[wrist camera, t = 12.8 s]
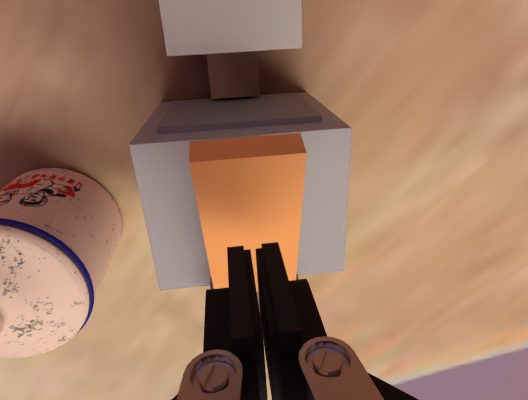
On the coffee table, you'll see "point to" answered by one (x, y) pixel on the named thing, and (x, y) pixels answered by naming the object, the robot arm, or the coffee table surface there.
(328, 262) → the cabinet
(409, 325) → the coffee table surface
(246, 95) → the rail
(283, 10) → the block
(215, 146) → the lever
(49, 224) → the teacup with lid
